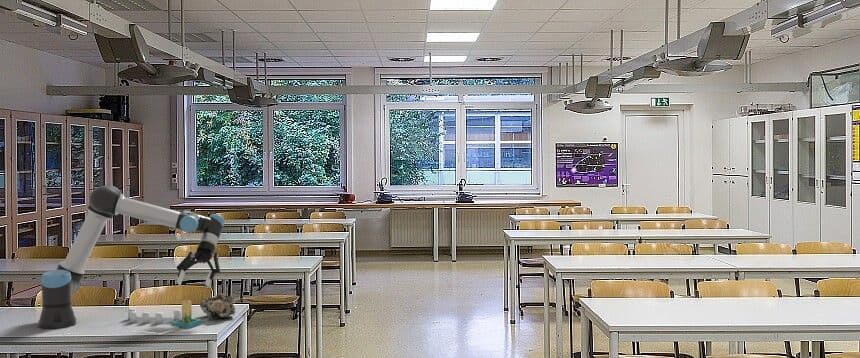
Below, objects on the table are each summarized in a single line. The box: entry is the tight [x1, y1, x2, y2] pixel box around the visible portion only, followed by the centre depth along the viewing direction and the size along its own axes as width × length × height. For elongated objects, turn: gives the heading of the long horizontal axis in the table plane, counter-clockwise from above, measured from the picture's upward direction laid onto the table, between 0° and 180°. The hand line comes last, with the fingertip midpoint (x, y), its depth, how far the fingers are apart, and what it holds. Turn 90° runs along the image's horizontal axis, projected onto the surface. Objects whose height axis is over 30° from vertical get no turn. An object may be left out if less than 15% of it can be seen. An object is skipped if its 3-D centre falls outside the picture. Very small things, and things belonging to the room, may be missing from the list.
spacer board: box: [118, 308, 182, 326], centre depth 369 cm, size 25×14×5 cm, turn 79°
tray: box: [171, 318, 203, 329], centre depth 362 cm, size 9×9×2 cm
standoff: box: [181, 299, 192, 323], centre depth 362 cm, size 4×4×10 cm
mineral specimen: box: [198, 293, 236, 320], centre depth 379 cm, size 16×18×10 cm
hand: (192, 284), depth 369 cm, fingers open, 13 cm apart
